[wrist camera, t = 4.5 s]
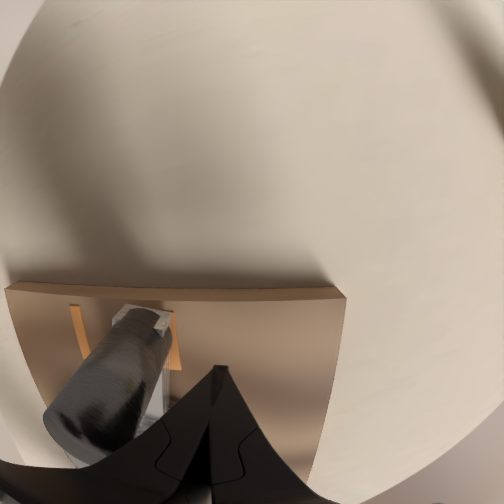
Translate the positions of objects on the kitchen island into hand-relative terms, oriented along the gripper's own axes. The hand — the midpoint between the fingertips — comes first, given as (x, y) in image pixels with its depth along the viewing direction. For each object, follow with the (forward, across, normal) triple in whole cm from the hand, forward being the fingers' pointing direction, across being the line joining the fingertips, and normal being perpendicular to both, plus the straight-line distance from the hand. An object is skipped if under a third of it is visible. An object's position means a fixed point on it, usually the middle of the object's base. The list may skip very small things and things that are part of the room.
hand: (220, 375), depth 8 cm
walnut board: (+5, +4, +10) cm, 11 cm away
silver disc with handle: (+3, +4, +7) cm, 9 cm away
